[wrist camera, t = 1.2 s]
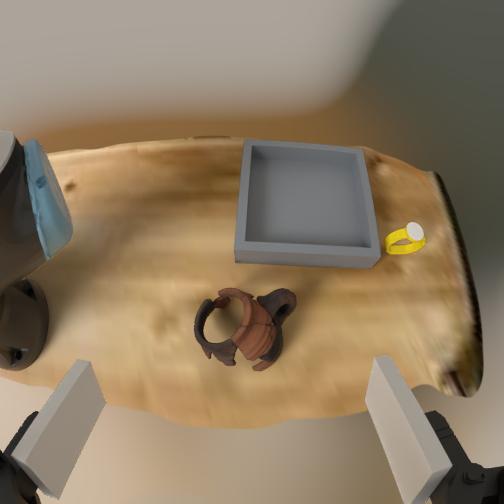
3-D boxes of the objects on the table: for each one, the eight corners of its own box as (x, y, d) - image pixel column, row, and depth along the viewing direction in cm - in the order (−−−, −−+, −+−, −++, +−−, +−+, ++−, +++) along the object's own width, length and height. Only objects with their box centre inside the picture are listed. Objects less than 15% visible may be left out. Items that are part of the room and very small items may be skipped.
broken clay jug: (246, 392, 35) (206, 375, 29) (214, 339, 42) (176, 314, 36) (324, 328, 35) (300, 297, 30) (281, 281, 42) (253, 246, 36)
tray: (235, 262, 41) (234, 249, 38) (244, 156, 49) (244, 139, 45) (370, 268, 41) (381, 257, 37) (356, 164, 49) (362, 148, 45)
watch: (410, 242, 43) (430, 223, 38) (414, 259, 42) (435, 241, 37) (377, 241, 43) (395, 220, 37) (380, 258, 42) (400, 239, 36)
